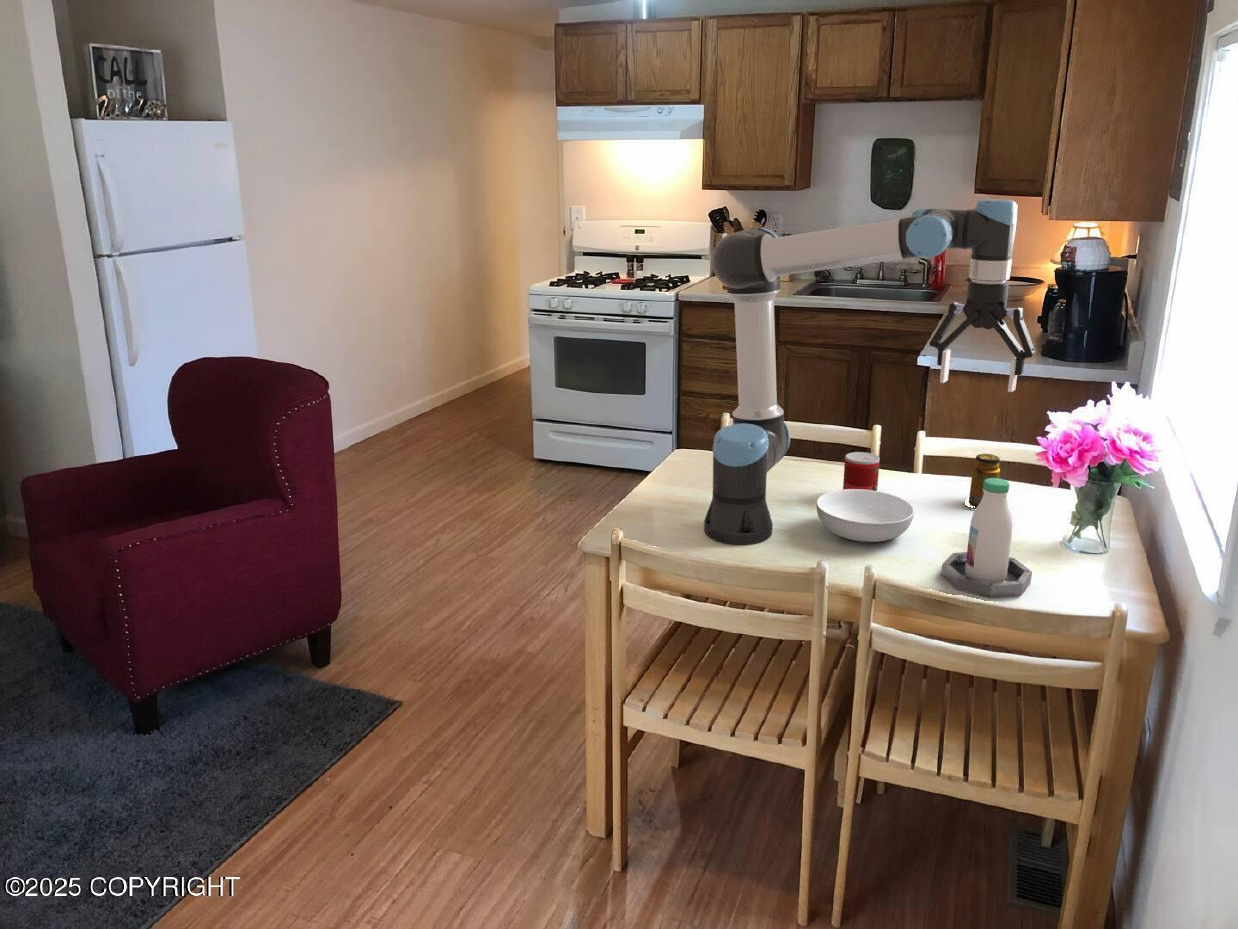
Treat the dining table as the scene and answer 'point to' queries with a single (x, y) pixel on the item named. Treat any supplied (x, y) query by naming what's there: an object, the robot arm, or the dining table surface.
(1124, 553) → the dining table surface
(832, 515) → the serving bowl
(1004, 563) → the milk bottle
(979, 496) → the condiment
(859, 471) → the canned food
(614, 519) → the dining table surface
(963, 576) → the grey octagonal tray
